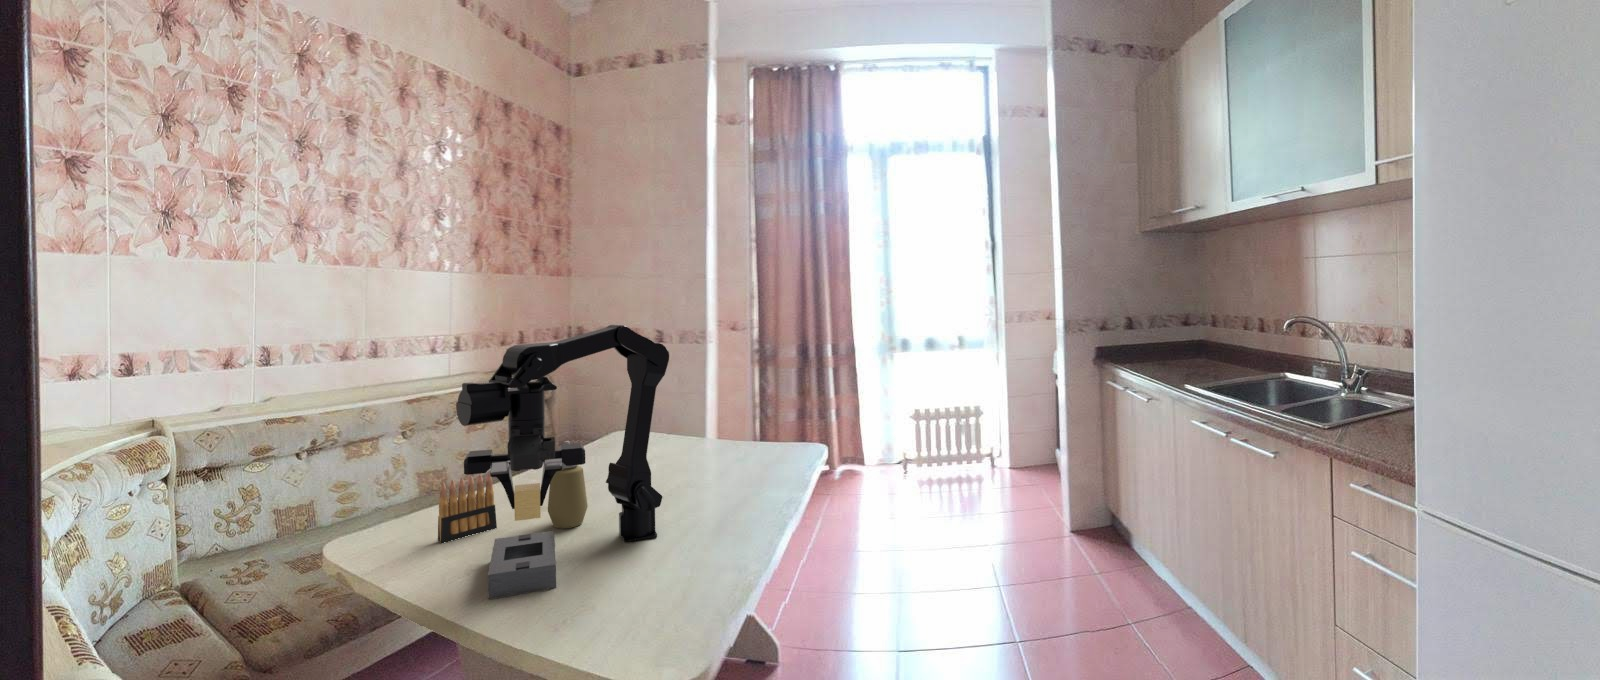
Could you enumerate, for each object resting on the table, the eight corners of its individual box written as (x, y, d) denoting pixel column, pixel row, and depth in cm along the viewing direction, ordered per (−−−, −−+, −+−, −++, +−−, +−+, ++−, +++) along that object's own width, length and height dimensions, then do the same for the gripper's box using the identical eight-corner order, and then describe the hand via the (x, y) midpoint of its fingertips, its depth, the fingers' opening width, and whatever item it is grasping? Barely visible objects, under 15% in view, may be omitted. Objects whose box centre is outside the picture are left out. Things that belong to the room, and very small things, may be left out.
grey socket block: (554, 551, 113) (553, 529, 113) (556, 587, 98) (555, 563, 98) (495, 560, 109) (494, 537, 109) (488, 599, 94) (487, 573, 94)
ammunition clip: (441, 543, 116) (439, 483, 116) (437, 541, 118) (435, 482, 117) (497, 528, 125) (495, 472, 124) (493, 526, 126) (491, 470, 125)
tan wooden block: (540, 510, 106) (539, 482, 105) (540, 517, 102) (540, 489, 102) (515, 513, 104) (514, 485, 104) (514, 520, 100) (514, 491, 100)
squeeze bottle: (596, 522, 128) (594, 440, 127) (563, 534, 121) (561, 447, 120) (572, 515, 133) (570, 435, 132) (539, 526, 126) (537, 442, 125)
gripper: (459, 430, 91) (460, 530, 92) (587, 422, 99) (588, 514, 100) (466, 418, 101) (467, 508, 102) (582, 411, 109) (583, 495, 110)
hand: (527, 506), depth 103 cm, fingers closed on tan wooden block, 4 cm apart
